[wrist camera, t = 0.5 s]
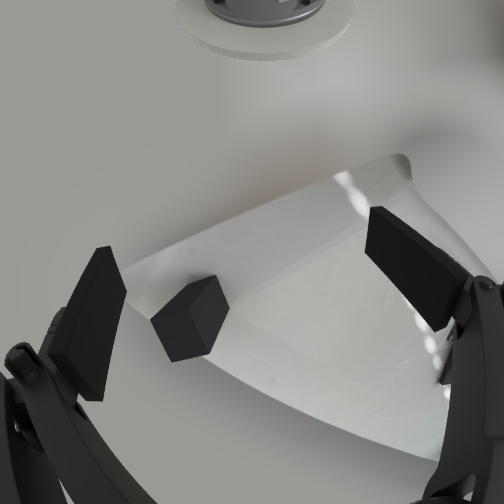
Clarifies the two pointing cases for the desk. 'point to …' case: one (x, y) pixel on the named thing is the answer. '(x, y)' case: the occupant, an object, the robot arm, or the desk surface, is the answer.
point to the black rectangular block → (192, 320)
